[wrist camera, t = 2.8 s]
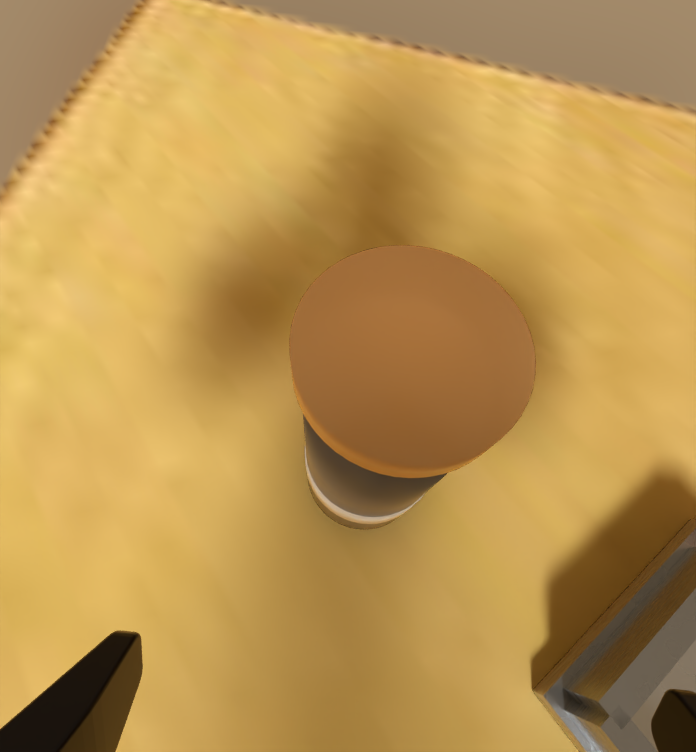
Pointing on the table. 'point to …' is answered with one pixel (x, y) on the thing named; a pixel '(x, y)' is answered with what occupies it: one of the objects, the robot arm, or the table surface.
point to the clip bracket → (630, 657)
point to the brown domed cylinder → (403, 377)
